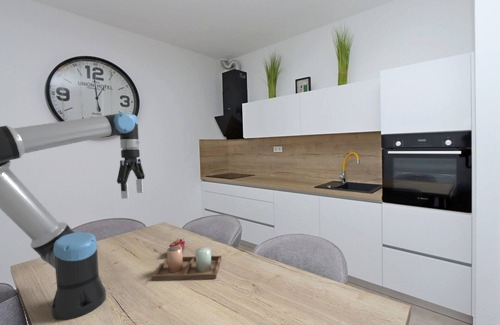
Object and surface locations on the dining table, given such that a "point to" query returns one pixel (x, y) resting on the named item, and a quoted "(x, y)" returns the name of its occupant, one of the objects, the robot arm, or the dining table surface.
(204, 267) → the pale green rounded cylinder
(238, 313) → the dining table surface
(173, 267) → the pink cylinder
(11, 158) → the robot arm
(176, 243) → the flower
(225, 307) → the dining table surface
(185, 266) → the wooden divided tray
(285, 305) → the dining table surface
